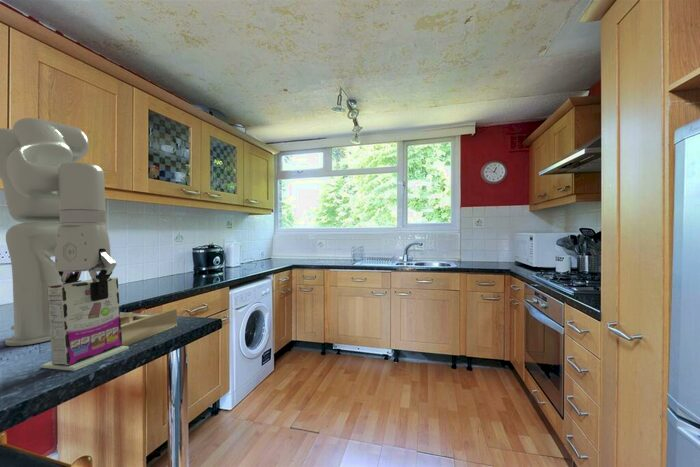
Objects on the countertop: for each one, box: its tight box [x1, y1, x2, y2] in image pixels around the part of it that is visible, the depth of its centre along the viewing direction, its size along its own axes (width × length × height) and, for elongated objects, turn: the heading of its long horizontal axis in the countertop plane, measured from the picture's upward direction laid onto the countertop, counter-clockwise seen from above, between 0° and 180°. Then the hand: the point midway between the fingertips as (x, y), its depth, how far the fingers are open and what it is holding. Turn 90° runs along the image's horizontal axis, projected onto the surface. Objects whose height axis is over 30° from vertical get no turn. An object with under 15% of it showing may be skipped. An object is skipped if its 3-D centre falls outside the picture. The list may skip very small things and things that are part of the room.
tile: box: [41, 345, 130, 372], centre depth 63 cm, size 9×11×1 cm
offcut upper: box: [120, 311, 134, 325], centre depth 79 cm, size 4×6×2 cm, turn 31°
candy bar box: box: [47, 276, 122, 365], centre depth 63 cm, size 11×5×16 cm, turn 167°
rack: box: [120, 308, 178, 346], centre depth 78 cm, size 15×16×5 cm
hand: (86, 298), depth 63 cm, fingers open, 7 cm apart
